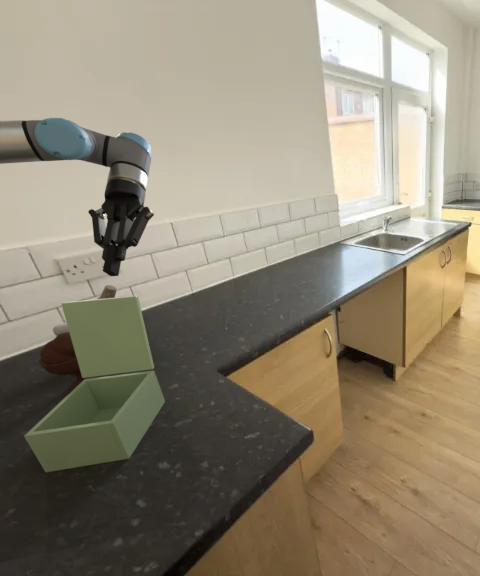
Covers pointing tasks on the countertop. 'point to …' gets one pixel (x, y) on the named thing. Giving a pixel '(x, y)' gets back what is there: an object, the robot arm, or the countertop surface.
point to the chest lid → (108, 336)
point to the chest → (97, 421)
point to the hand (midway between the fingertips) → (110, 273)
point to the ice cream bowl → (61, 358)
